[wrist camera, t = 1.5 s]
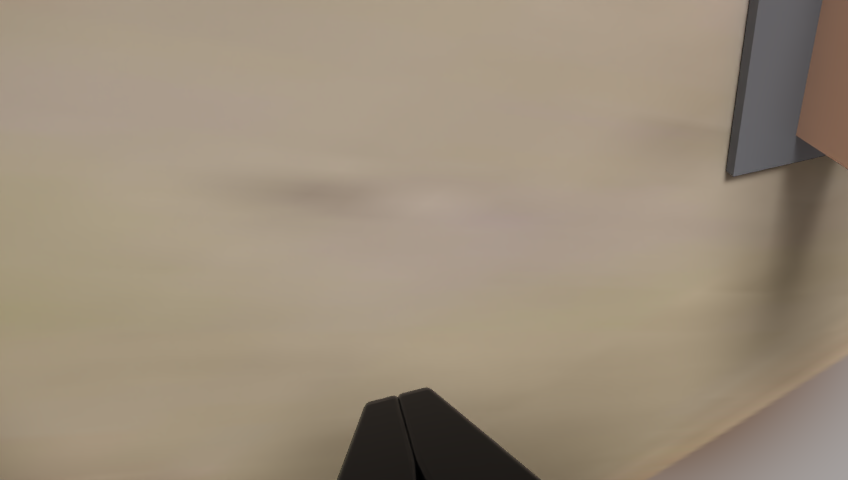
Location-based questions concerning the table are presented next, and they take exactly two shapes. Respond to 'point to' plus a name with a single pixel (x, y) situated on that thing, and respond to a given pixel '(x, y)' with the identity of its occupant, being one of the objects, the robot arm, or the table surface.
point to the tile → (828, 85)
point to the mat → (773, 85)
